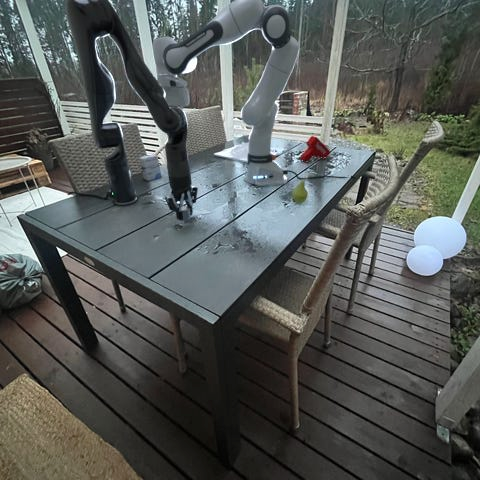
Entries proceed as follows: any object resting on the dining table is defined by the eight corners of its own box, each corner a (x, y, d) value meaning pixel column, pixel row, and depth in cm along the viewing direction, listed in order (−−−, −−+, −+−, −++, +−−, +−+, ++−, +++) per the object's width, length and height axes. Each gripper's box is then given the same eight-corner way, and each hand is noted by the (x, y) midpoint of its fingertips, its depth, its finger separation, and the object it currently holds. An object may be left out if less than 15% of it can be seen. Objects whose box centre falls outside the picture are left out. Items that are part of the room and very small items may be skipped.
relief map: (256, 164, 167) (256, 156, 164) (213, 155, 185) (213, 147, 182) (278, 154, 185) (279, 147, 183) (238, 147, 203) (237, 140, 200)
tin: (177, 220, 100) (176, 210, 98) (181, 215, 103) (180, 205, 101) (188, 221, 99) (187, 211, 97) (192, 216, 103) (191, 206, 101)
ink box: (157, 175, 153) (153, 153, 146) (161, 177, 150) (158, 155, 143) (143, 178, 148) (138, 157, 141) (147, 181, 145) (143, 158, 138)
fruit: (288, 200, 123) (290, 174, 116) (302, 197, 125) (305, 172, 119) (296, 206, 118) (299, 179, 111) (310, 203, 120) (314, 177, 114)
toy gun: (301, 158, 166) (316, 136, 163) (297, 156, 169) (311, 135, 166) (317, 172, 178) (330, 152, 175) (312, 170, 181) (326, 150, 178)
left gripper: (170, 180, 85) (177, 228, 95) (201, 169, 95) (205, 213, 104) (155, 176, 89) (163, 221, 98) (187, 165, 99) (191, 207, 108)
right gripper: (145, 81, 123) (150, 115, 130) (180, 82, 114) (184, 118, 122) (155, 81, 127) (160, 113, 135) (189, 81, 119) (193, 116, 126)
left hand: (185, 217), depth 101 cm, fingers closed on tin, 4 cm apart
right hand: (171, 115), depth 128 cm, fingers open, 8 cm apart
